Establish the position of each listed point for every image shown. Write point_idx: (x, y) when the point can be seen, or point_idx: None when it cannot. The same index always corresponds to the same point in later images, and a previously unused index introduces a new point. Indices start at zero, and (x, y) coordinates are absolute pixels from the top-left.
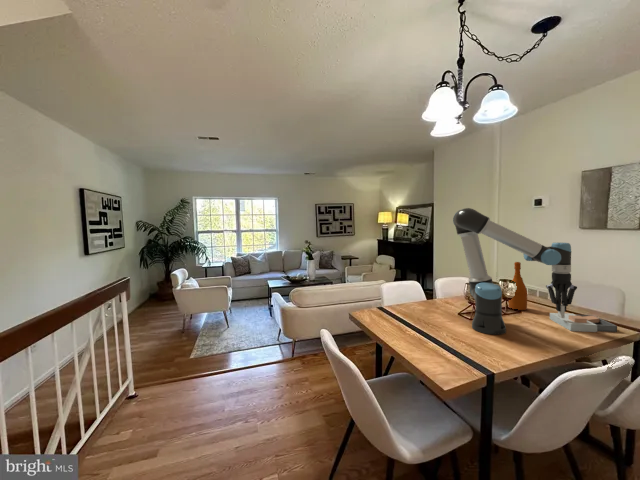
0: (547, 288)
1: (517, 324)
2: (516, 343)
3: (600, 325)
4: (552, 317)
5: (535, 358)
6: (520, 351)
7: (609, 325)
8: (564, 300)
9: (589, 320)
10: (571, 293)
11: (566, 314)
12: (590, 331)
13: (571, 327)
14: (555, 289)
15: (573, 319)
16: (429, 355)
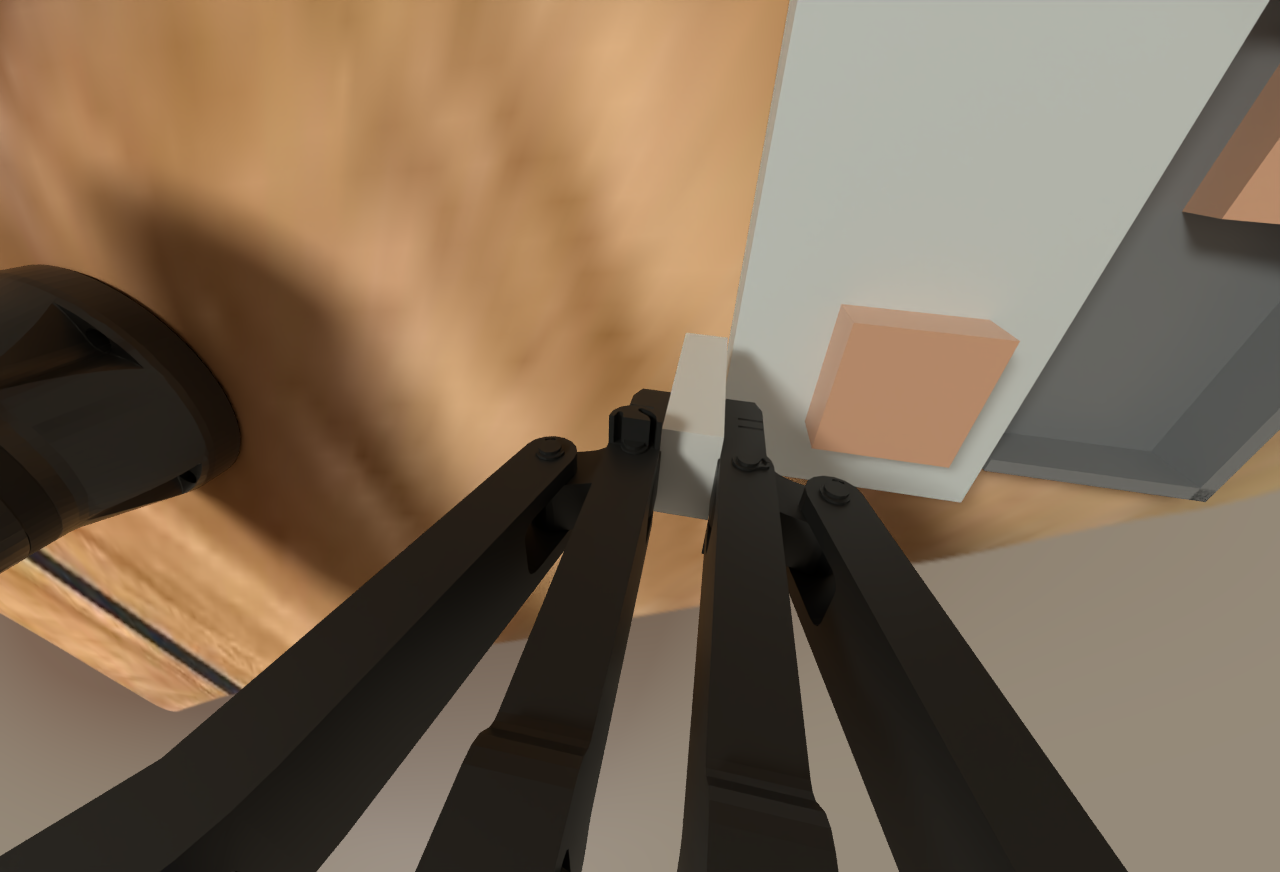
0: (81, 821)
1: (318, 257)
2: (303, 566)
3: (1027, 475)
4: (785, 41)
5: None
6: (316, 621)
7: (1129, 487)
8: (701, 604)
9: (1236, 219)
10: (901, 861)
11: (1080, 5)
12: None
13: None
14: (445, 829)
15: (817, 409)
16: (50, 610)
